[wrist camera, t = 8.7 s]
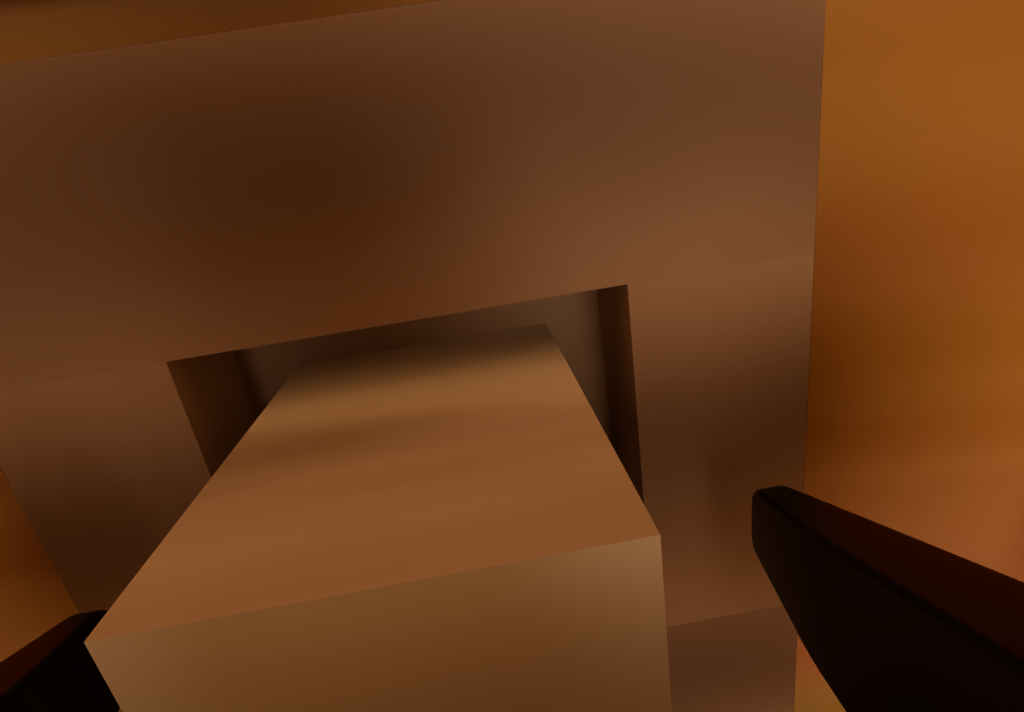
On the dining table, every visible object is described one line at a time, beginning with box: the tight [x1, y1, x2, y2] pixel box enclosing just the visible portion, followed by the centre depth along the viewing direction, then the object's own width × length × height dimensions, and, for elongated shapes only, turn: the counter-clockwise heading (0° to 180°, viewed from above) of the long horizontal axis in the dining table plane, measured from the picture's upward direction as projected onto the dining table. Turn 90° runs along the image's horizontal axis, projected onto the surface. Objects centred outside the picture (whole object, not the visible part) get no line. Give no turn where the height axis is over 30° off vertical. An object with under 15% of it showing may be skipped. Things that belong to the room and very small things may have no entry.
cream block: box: [84, 324, 672, 712], centre depth 8 cm, size 4×4×6 cm
